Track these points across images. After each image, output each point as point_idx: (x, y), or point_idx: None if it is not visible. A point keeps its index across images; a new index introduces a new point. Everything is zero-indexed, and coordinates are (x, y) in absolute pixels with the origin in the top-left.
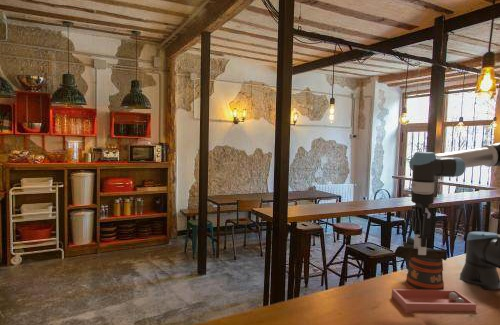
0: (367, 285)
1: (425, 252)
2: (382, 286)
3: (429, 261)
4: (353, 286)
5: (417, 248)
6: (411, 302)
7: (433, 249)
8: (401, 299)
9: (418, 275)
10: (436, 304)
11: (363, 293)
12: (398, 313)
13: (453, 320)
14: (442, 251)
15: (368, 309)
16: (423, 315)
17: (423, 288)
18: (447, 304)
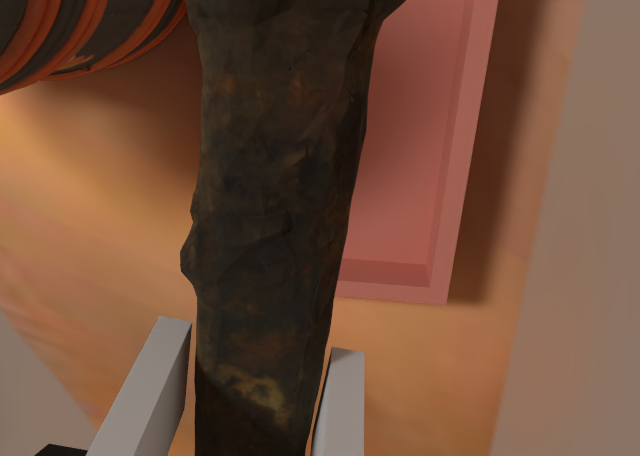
0: (70, 318)
1: (360, 390)
2: (69, 233)
3: None
4: (100, 398)
5: (175, 413)
6: (435, 266)
7: (263, 217)
8: (374, 295)
9: (86, 52)
10: (480, 99)
11: (191, 383)
12: (439, 314)
13: (581, 16)
14: (341, 56)
15: (381, 432)
16: (483, 185)
17: (171, 10)
18: (496, 5)
